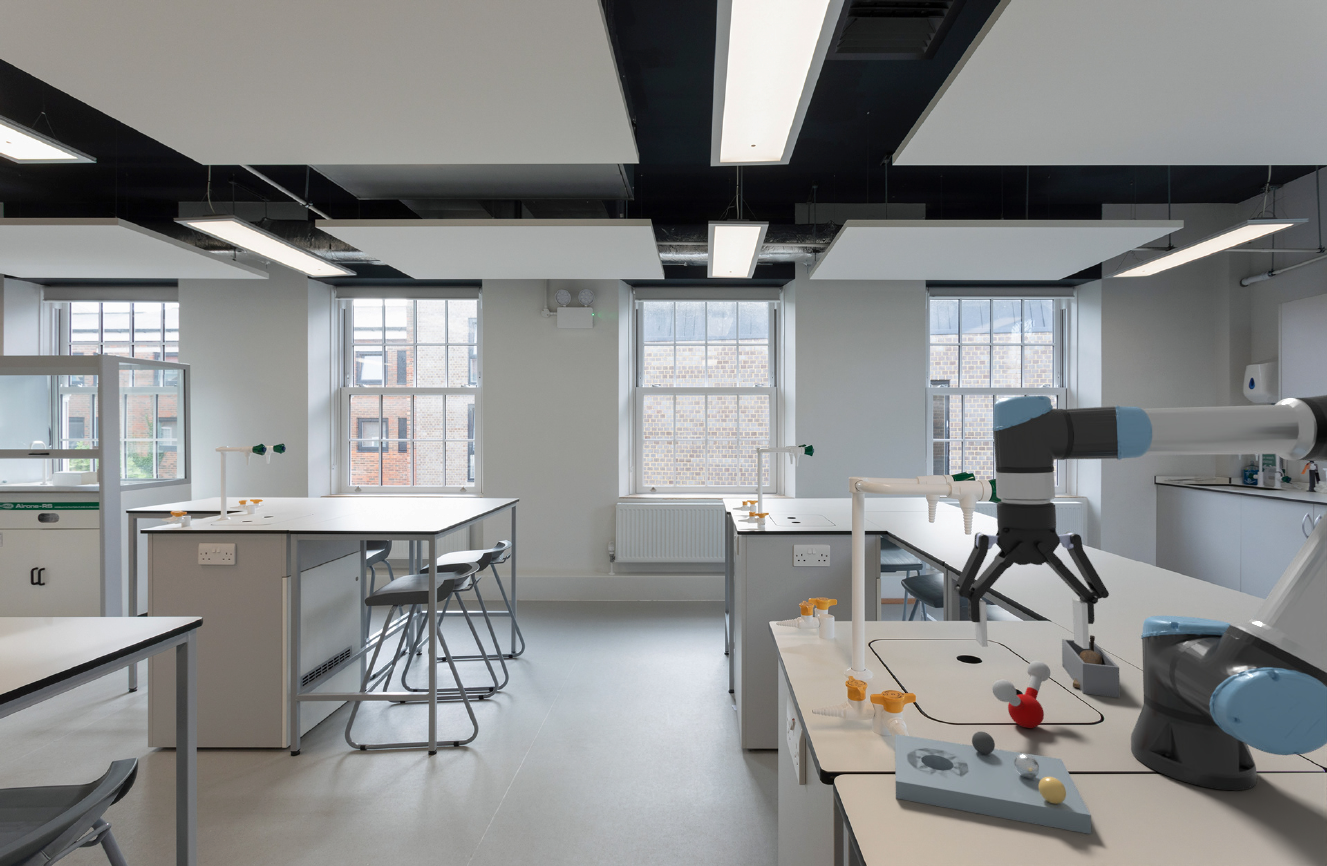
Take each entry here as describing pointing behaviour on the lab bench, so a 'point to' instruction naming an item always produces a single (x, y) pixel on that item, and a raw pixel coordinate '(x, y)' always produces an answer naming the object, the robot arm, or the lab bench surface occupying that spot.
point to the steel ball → (1026, 766)
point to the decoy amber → (1052, 790)
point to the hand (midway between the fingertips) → (1031, 644)
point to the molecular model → (1024, 696)
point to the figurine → (1089, 658)
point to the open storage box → (1091, 670)
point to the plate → (984, 783)
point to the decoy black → (983, 742)
